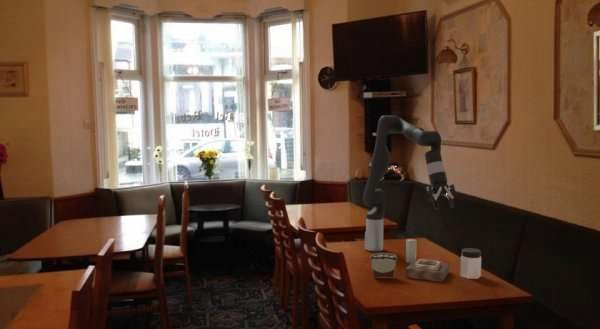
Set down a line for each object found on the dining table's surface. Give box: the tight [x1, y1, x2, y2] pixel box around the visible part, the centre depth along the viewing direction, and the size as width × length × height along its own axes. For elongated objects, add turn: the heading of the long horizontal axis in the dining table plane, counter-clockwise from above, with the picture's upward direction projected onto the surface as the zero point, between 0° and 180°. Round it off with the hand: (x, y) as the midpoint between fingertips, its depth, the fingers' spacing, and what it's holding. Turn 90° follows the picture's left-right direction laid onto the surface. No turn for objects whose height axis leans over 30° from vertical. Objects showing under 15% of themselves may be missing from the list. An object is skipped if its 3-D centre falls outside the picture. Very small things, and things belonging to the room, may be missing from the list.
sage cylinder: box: [405, 238, 418, 264], centre depth 253 cm, size 5×5×11 cm
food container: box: [369, 252, 398, 279], centre depth 231 cm, size 12×6×10 cm, turn 84°
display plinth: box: [405, 258, 450, 283], centre depth 232 cm, size 16×16×6 cm
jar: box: [460, 247, 482, 280], centre depth 230 cm, size 9×8×12 cm
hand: (444, 208), depth 224 cm, fingers open, 8 cm apart
